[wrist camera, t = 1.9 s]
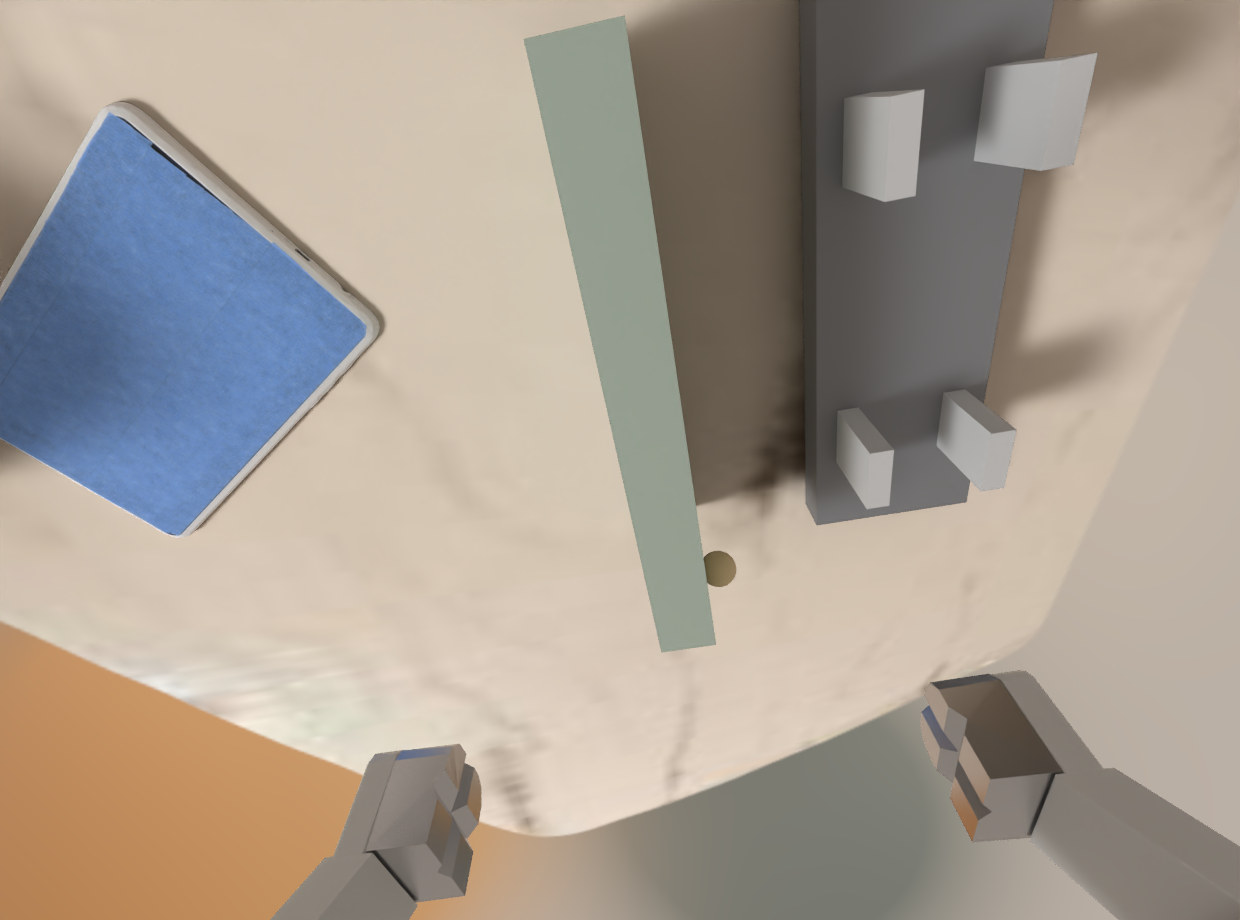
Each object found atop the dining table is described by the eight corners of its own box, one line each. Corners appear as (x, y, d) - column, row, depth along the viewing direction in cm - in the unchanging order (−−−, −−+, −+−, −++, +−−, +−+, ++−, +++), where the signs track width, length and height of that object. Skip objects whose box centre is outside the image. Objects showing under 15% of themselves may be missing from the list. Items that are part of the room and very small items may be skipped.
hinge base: (798, -26, 20) (863, -70, 15) (1030, -79, 20) (1178, -144, 15) (805, 503, 33) (842, 576, 28) (947, 481, 32) (1011, 551, 27)
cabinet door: (555, 65, 22) (523, 39, 13) (656, 42, 21) (689, 0, 13) (647, 513, 33) (661, 652, 25) (713, 502, 33) (750, 639, 24)
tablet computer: (127, 89, 22) (102, 88, 21) (392, 322, 27) (383, 331, 26) (-47, 390, 29) (-73, 402, 28) (194, 533, 34) (180, 547, 33)
